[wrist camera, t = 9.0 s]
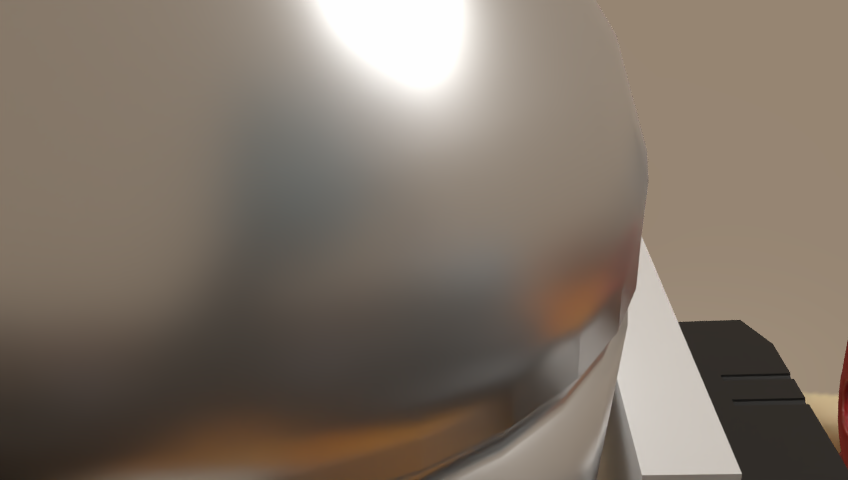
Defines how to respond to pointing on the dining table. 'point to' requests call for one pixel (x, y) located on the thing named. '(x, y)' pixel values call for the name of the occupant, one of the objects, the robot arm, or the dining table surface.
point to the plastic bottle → (313, 238)
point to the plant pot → (843, 411)
